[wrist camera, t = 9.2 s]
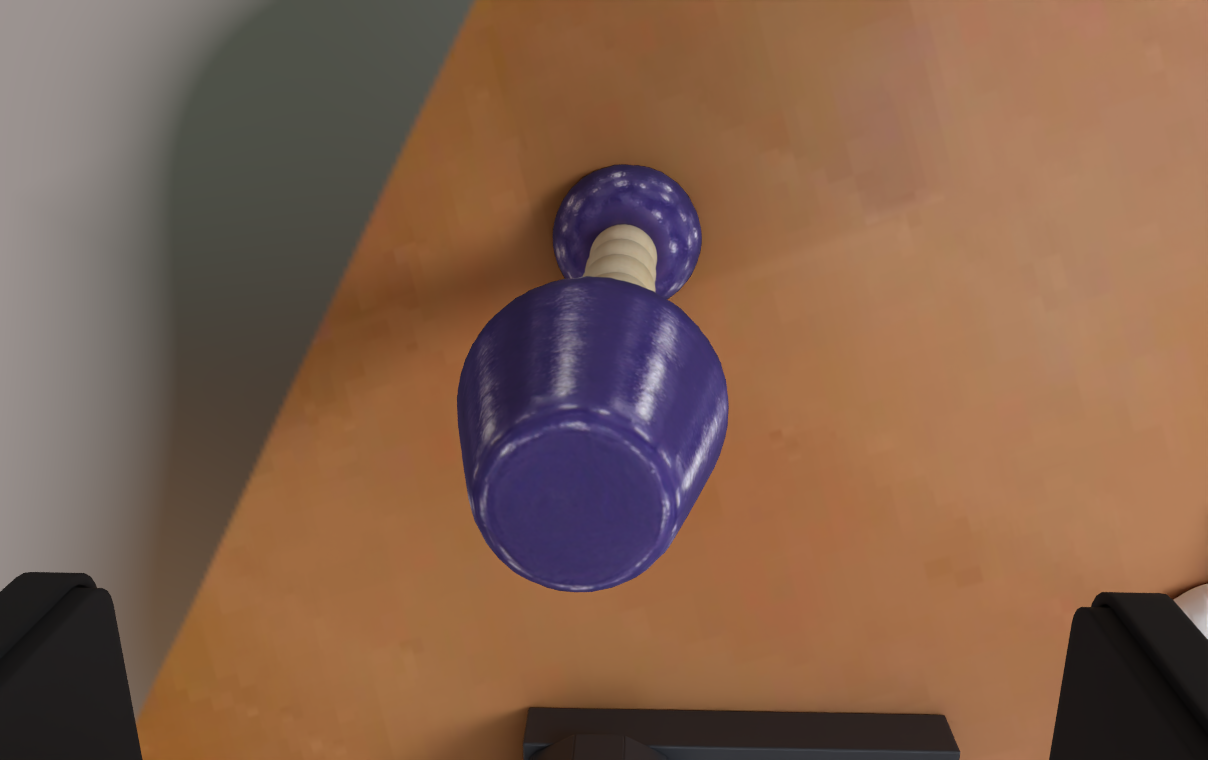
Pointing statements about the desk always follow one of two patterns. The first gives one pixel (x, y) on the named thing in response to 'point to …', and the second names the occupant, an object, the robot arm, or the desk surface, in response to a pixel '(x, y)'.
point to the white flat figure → (1196, 606)
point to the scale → (733, 735)
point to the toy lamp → (595, 393)
